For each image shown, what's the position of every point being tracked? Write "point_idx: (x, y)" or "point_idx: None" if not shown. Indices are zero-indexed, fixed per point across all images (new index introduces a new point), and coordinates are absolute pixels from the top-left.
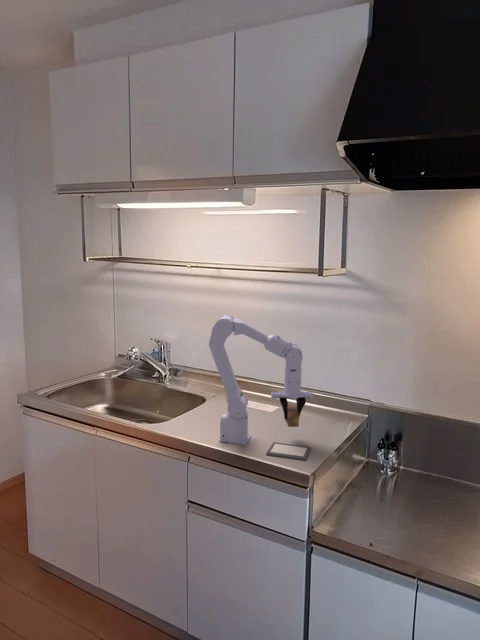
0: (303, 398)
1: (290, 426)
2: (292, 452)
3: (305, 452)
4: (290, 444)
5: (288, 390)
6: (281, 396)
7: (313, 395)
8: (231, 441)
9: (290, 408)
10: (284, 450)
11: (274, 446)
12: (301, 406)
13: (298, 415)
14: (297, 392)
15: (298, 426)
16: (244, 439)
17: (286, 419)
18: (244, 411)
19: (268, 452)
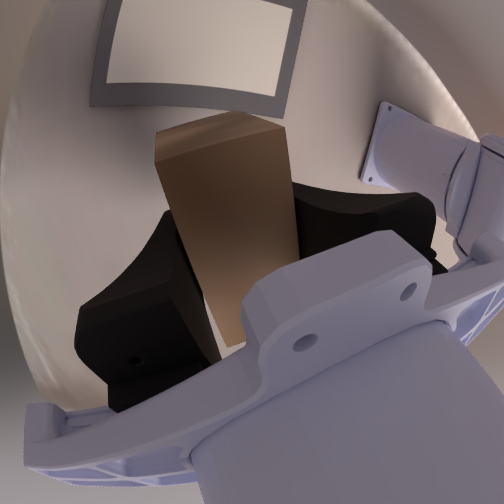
0: (131, 394)
1: (220, 114)
2: (182, 10)
3: (114, 30)
4: (196, 105)
5: (497, 391)
6: (474, 269)
7: (24, 444)
8: (416, 118)
9: (263, 265)
10: (225, 24)
11: (276, 65)
12: (136, 271)
13: (159, 153)
14: (282, 479)
15: (156, 133)
16: (389, 127)
17: None
18: (502, 140)
19: (299, 6)
